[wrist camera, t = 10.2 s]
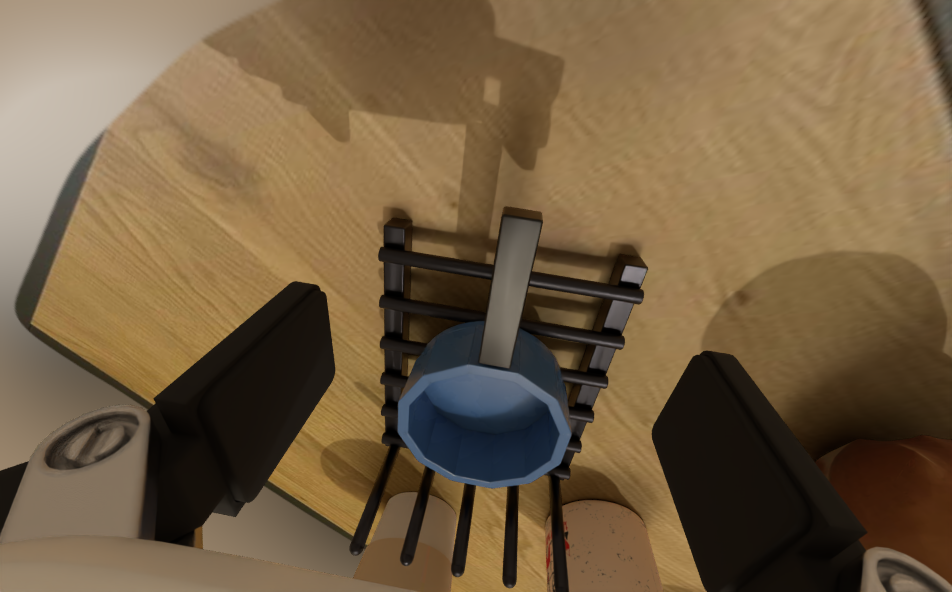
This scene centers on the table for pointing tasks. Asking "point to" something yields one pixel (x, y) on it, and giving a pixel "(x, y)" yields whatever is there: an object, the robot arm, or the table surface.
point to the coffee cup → (431, 553)
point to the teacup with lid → (604, 549)
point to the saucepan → (490, 383)
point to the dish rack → (600, 339)
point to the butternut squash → (899, 495)
